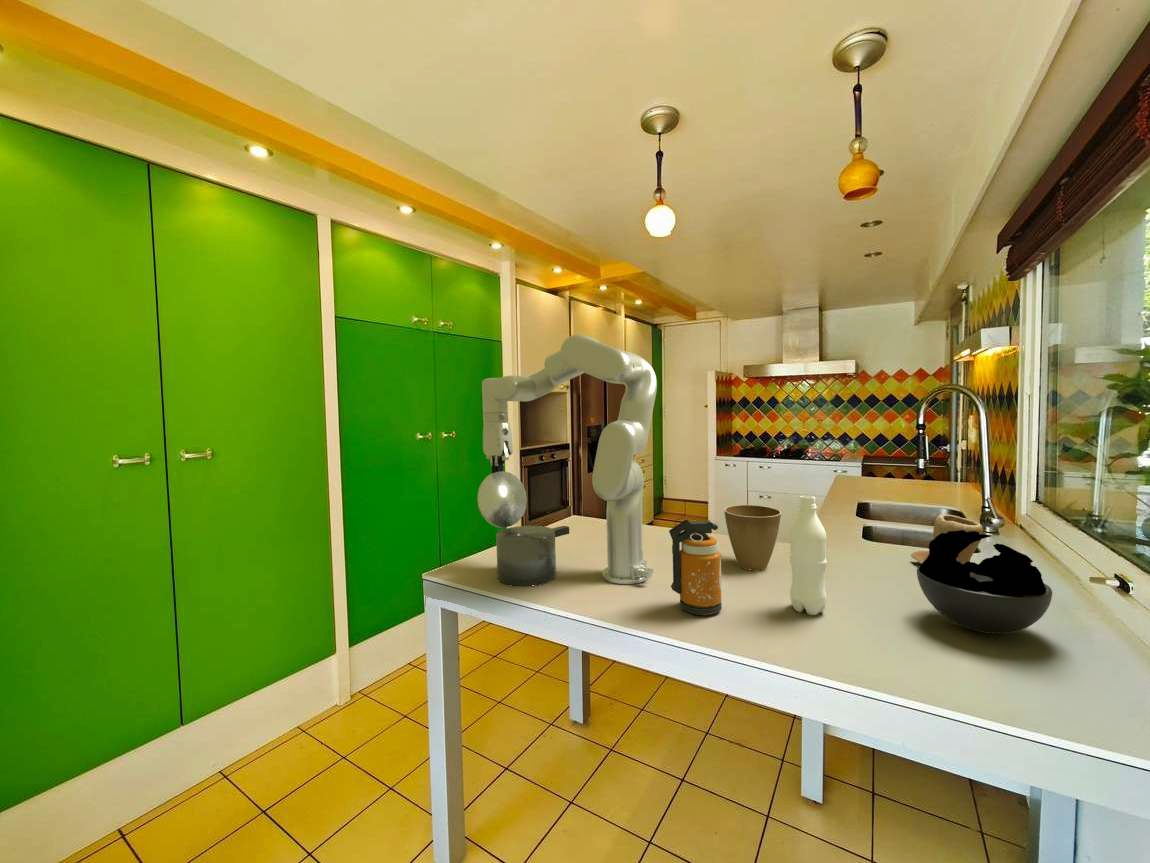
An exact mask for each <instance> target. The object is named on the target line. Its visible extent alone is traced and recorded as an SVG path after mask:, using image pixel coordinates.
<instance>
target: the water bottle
mask: <svg viewBox="0 0 1150 863" xmlns="http://www.w3.org/2000/svg"><path fill="white" fill-rule="evenodd" d="M798 508H799V511H798V514H797V515H796V518H795V519H794V521H793V523H792V524H791V527H790V529H789V538H790V539H789V540H790V541H789V542H790V543H789V551H790V553H789V554H790V555H789V563H790V567H791V575H792V576H791V577H792V578H791V585H790V589H789V598H790V603H791V604H792V607H793V608H794V610H795V611H797V612H798V613H802V612H803V611H804V609H805V612H806V613H807V615H810V616H816V615H818V614H819V613H820V614H821V613H823V612H824V611H825V609H826V606H827V600H828V597H827V592H826V587H825V573H826V568H827V564H828V562H827V556H826V554H827V553H826V551H827V549H826V548H827V547H826V546H827V544H826V542H827V533H826V530H825V528H824V526H823V524H822V522H821V520H820V518H819V517H818V515H817V510H816V509H817V504H816V497H815V496H813V495H800V496H799V503H798Z"/></svg>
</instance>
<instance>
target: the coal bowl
mask: <svg viewBox="0 0 1150 863" xmlns="http://www.w3.org/2000/svg"><path fill="white" fill-rule="evenodd" d="M991 537H992V535H991V534H986V533H983V534H979V532H977V531H970V532H966V531H964V530H959V531H948V532H947V533H946V534H945V533H941V534H939V535H938V536H936V537H935V539H934V538H933V539H931V541H929V543H928V551H929V555H928V557H927V558H926V559H925V560H924V561H923V563H922V564H921V563H920V565H919V566H918V567H917V568H916V576H917V581H918V584H919V586H920V589H921V591H922V593H923V595H924V596H925V597H926V599H927V601H928V602H929V604H931V605H932V607H933V608H935V610H936V611H938V612H939V613H940V615H942V616H944V617H945V618H947V619H948V620H950V621H952V622H953V623H955V624H957V625H959V626H961V627H963V628H966V629H969V630H972V631H976V632H980V633H984V634H985V633H987V634H1009V633H1015V632H1018V631H1022V630H1024V629H1026V628H1028V627H1030V626H1032V625H1034V624H1035V623H1036V622H1038V621H1039V620H1040V619H1042V617H1044V615H1045V613H1046V612H1047V611H1048V609H1049V607H1050V606H1051V605H1050V604H1051V602H1052V598H1053V590H1052V588H1051V587H1050V586H1049V585H1048V584H1046V583H1044V580H1043V577H1042V573H1041V572H1040V570H1039V569H1038V567H1036V566H1035V565H1033V564H1032V563H1033V562H1034V560H1032V558H1030V557H1029V556H1028V555H1027V554H1024V553H1022V552H1019V551H1018V550H1016V549H1014V548H1012V547H1010V546H1008V545H1005V544H1002V543H997V542H996V544H993V547H994V549H995V550H996V551H997V552H998V553H999V554H998V555H993V556H991V557H986V558H984V559H982V560H981V562H979V563H976V562H973V561H970V562H965V563H961V562H958V561H957V560H956V558H957V557H958V556H959V553H960V552H961V551H963V550H964V549H965V548H967V547H968V546H969V544H972V543H973V542H976V541H980V540H983V539H986V538H991ZM980 542H981V541H980Z"/></svg>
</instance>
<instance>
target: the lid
mask: <svg viewBox="0 0 1150 863" xmlns="http://www.w3.org/2000/svg"><path fill="white" fill-rule="evenodd" d="M524 486H525V485H524V484H523V483H522V481H521V480H520V479H519V478H518V476H516V475H514V474H513V473H511V472H509V471H505V470H504V471H500V472H495V473H492V472H491V473H490V474H488V475H487V476H485V478H484V479H483V481H482V482H481V483H480V485H479V487H478V489H477V490H478V491H477V506H478V510H479V512H480V514H481V516H482V517H483V519H484V520H485V521H486V522H487V523H488V524H490V525H491V526H494V527H496V528H507V527H508V528H510V527H513V526H514V525H516V524H517V523H518V522H519V521H520V520H521V519H522V517H523V516H524V514H525V512H526V510H527V504H528V503H527V501H528V498H527V492H526V489H525V487H524Z"/></svg>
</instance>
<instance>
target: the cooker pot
mask: <svg viewBox="0 0 1150 863" xmlns="http://www.w3.org/2000/svg"><path fill="white" fill-rule="evenodd" d="M569 534H570V526H567V525H561V526H557V527H553V528H551V527H549V526H543V525H520V526H518V525H517V526H510V527H508V528H507V527H506V528H504V529H499V530H498V531H497V532H496V534H495V538H496V540H495V542H496V545H495V546H496V567H497V568H496V572H497V581H498V580H499V581H500V582H501V584H502V583H503V584H502V585H504V584H506V585H505V586H508V585H512V586H511V587H514V586H530V587H533V586H532V585H537V586H540V585H539V584H542V585H544V584H543V583H545V584H547V582H548V583H550V582H551V580H552V581H553V580H555V579H556V578H557V559H556V556H557V555H556V538H558V537H562V536H566V535H569ZM499 581H498V582H499ZM549 581H550V582H549ZM500 582H499V583H500Z"/></svg>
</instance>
